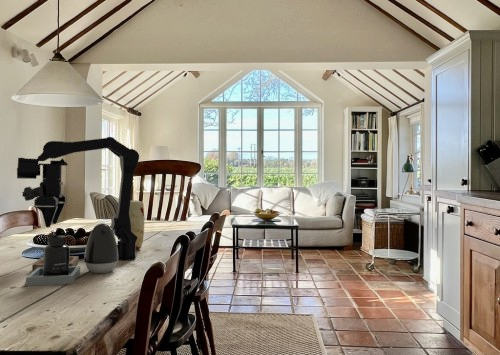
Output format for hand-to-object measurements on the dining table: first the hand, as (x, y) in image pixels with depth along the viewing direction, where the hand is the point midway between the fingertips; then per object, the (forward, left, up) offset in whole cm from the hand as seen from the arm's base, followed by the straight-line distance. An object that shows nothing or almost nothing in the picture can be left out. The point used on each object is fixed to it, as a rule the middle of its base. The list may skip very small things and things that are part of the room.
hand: (51, 225), depth 138 cm
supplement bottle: (-6, +20, -13) cm, 25 cm away
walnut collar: (-3, +6, -13) cm, 15 cm away
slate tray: (-6, +20, -13) cm, 25 cm away
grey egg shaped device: (-18, +13, -13) cm, 26 cm away
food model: (-25, -23, -13) cm, 36 cm away
